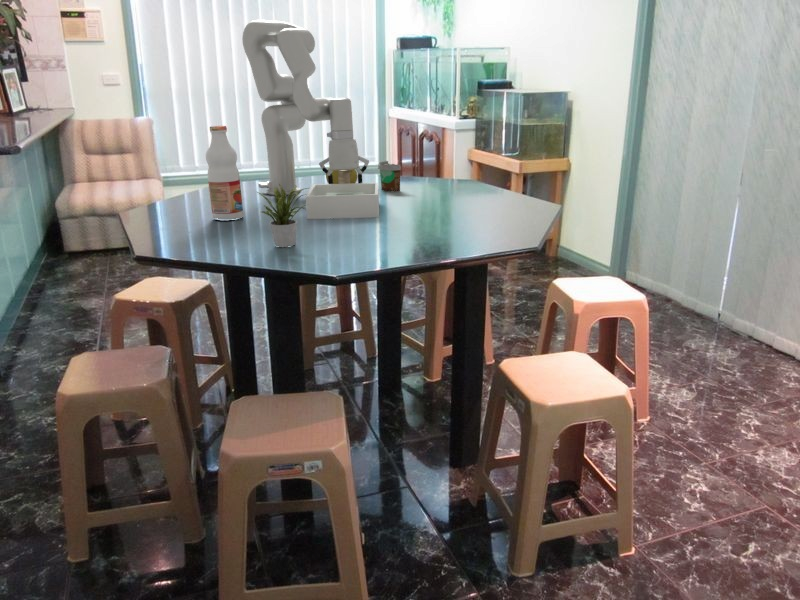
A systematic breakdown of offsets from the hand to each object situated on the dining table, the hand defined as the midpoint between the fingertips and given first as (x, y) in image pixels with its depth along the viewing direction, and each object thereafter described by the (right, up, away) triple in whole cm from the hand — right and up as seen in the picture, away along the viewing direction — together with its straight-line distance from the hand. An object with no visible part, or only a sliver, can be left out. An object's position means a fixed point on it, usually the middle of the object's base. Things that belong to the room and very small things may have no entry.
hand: (345, 186), depth 227 cm
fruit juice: (-35, -15, -24) cm, 45 cm away
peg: (0, -4, +2) cm, 5 cm away
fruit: (-3, +2, +20) cm, 20 cm away
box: (+1, -11, -17) cm, 20 cm away
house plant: (-10, -26, -58) cm, 64 cm away
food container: (+14, +2, +18) cm, 23 cm away
